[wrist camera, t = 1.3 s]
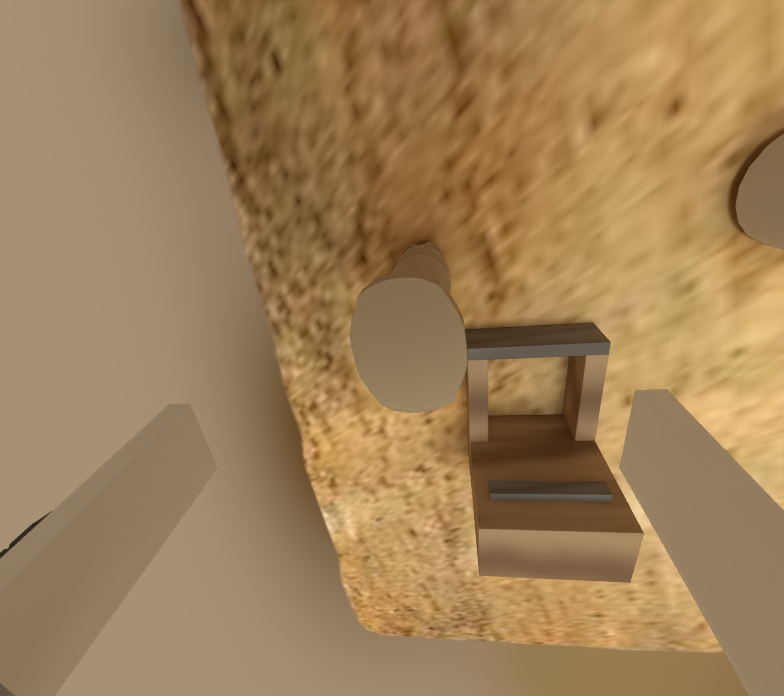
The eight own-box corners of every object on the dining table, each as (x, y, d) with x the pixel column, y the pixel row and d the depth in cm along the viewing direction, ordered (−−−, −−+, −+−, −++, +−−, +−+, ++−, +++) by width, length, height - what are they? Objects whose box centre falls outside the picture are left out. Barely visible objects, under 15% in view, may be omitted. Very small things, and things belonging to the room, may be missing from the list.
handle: (400, 304, 31) (368, 416, 18) (386, 224, 28) (336, 286, 15) (459, 296, 30) (472, 408, 17) (450, 213, 27) (458, 269, 14)
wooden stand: (465, 329, 31) (476, 419, 21) (593, 322, 30) (676, 416, 19) (468, 456, 38) (479, 575, 27) (575, 456, 36) (630, 582, 25)
